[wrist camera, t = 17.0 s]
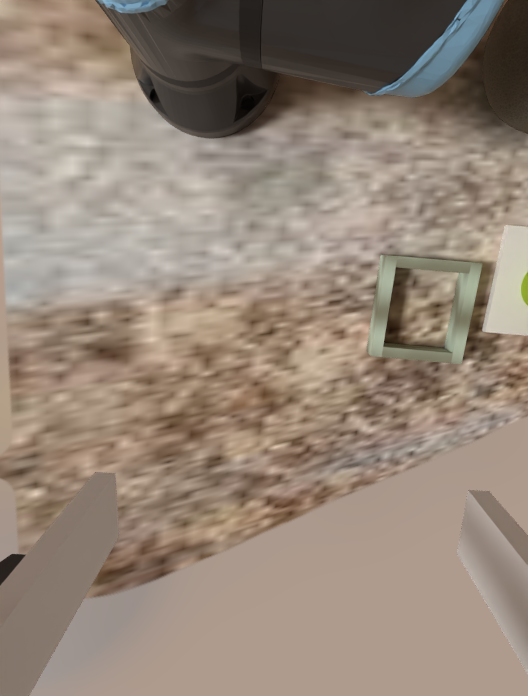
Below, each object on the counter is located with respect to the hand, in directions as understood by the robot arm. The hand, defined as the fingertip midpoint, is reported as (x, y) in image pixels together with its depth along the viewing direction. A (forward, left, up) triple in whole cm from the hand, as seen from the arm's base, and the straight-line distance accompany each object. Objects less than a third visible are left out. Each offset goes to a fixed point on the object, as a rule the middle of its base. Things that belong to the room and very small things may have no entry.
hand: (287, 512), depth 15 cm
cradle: (-4, +16, -34) cm, 38 cm away
